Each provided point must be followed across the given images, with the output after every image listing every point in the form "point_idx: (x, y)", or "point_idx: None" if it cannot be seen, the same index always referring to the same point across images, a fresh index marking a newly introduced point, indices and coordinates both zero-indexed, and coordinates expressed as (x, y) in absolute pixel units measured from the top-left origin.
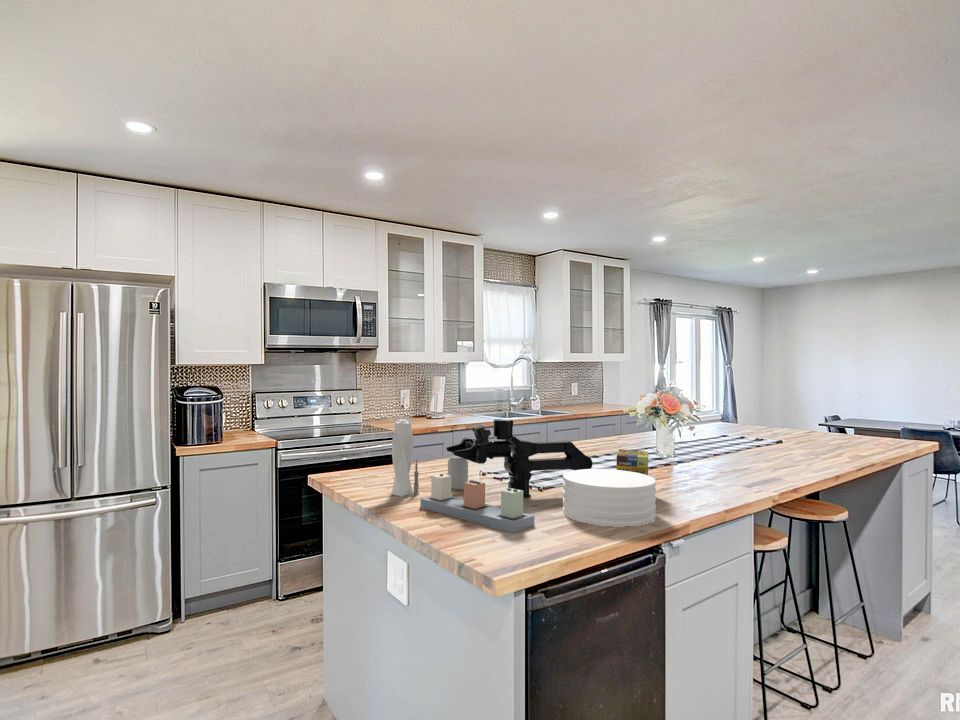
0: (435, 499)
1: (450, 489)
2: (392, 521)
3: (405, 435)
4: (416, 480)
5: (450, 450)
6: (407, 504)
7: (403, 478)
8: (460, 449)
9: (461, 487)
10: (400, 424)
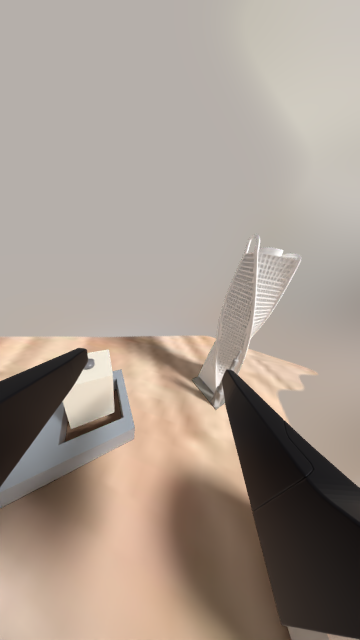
0: (120, 403)
1: (67, 413)
2: (87, 337)
3: (244, 285)
4: (220, 383)
5: (227, 397)
6: (151, 370)
7: (213, 359)
8: (275, 497)
9: (291, 634)
10: (248, 256)
